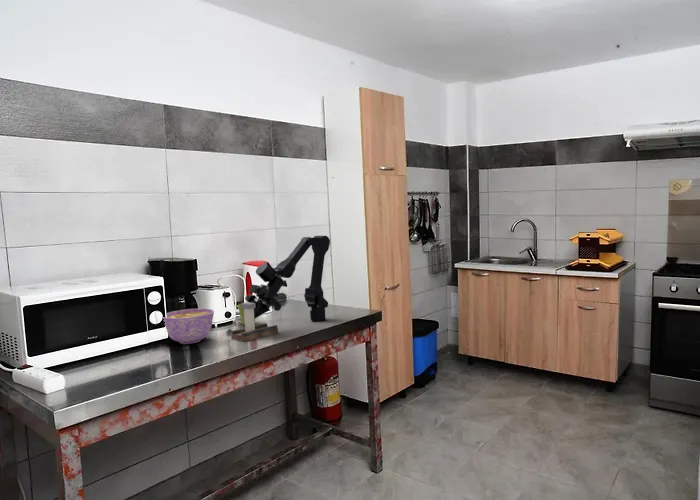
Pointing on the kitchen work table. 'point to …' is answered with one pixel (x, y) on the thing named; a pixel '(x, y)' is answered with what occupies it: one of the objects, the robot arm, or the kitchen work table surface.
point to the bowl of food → (189, 325)
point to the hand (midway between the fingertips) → (252, 318)
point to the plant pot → (242, 313)
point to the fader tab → (249, 316)
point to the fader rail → (254, 332)
